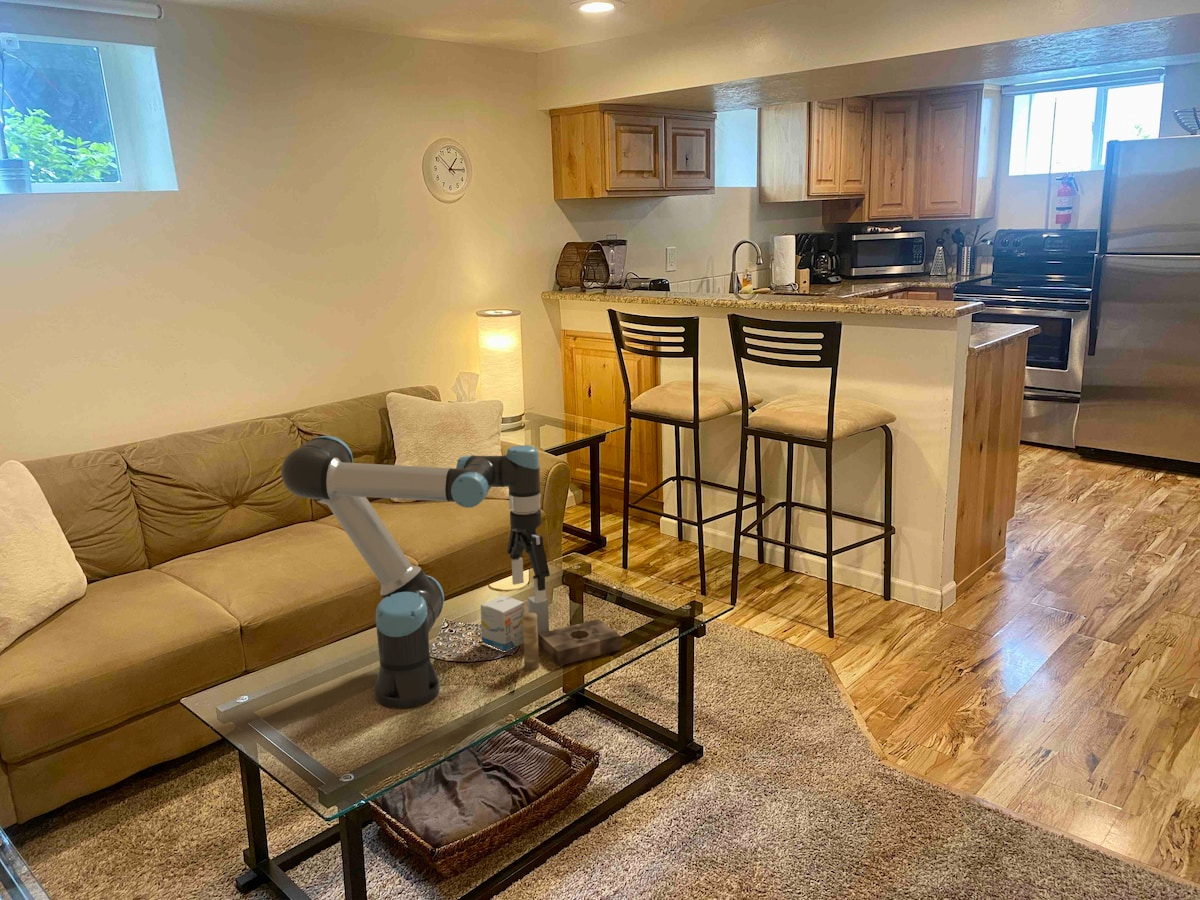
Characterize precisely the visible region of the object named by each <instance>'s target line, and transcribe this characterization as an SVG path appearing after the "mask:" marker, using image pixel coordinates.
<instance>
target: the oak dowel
mask: <svg viewBox="0 0 1200 900" xmlns="http://www.w3.org/2000/svg"><path fill="white" fill-rule="evenodd" d="M522 620H523V642H524V643H523V659H524V660H523V661H524V662H523V663H524V669H525V670H526V671H535V670H538V669H539V668H540V663H539V662H540V659H539V644H538V631H537V614H536V613H532V612H529V611H528V612H524V614H523V615H522Z"/></svg>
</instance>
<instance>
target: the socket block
mask: <svg viewBox="0 0 1200 900" xmlns="http://www.w3.org/2000/svg"><path fill="white" fill-rule="evenodd" d="M538 637H539V644H538V649H540V651H542V652H543V653H544V654H545V656H547V657H548V658H550V659H551V661H552V662H553V663H554V664H556V665H557V667H560V666H561V667H562V666H565V665H568V664H572V663H575V662H579V661H583V659H584V660H587V659H590V658H594V657H599V656H603V655H606V654H610V653H614V652H617V651H621V650H622V649H621V648H622V646H621V645H622V643H621V637H622V636H621V635H620V633H619V632H617V631H615V630H614V629H613V628H611V627H610V626H609V625H608V624H606V623H605V622H604V621H603V620H600V618H597V619H593V620H590V621H585V622H582V623H577V624H573V625H568V626H565V627H560V628H556V629H552V630H549V631H547V632H543V633H539V634H538Z"/></svg>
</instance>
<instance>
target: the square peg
mask: <svg viewBox="0 0 1200 900" xmlns="http://www.w3.org/2000/svg"><path fill="white" fill-rule="evenodd" d="M527 603H528V604H527V606H528V613H529V612H532V613H536V614H537V631H538V634H539V633H543V632H547V631H550V621H549V619H550V617H549V615H550V614H549V599H548V598H547V597H546V601H544V602H540V603H535V599H534V595H533V596H528V597H527ZM538 645H539V637H538Z"/></svg>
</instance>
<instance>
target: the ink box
mask: <svg viewBox="0 0 1200 900" xmlns="http://www.w3.org/2000/svg"><path fill="white" fill-rule="evenodd" d="M523 614H525V602H524V601H522V600H518V599H516V598H512V597H510V596H506V595H500V596H497V597H495V598H493V599H490V600H488V601H487V602H484V603H481V604H480V621H481V622H480V624H481V625H480V626H481V643H482V642H484V643H486V644H488V645H491V646H493V647H495V648H497V649H500V650H502V651H507V650H509V649H511V648H513V647H515V648H517V647H518V645H519V646H521V645H522V644H524V642H523V620H522V615H523ZM516 646H517V647H516ZM513 649H514V648H513ZM511 650H512V649H511Z"/></svg>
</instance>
